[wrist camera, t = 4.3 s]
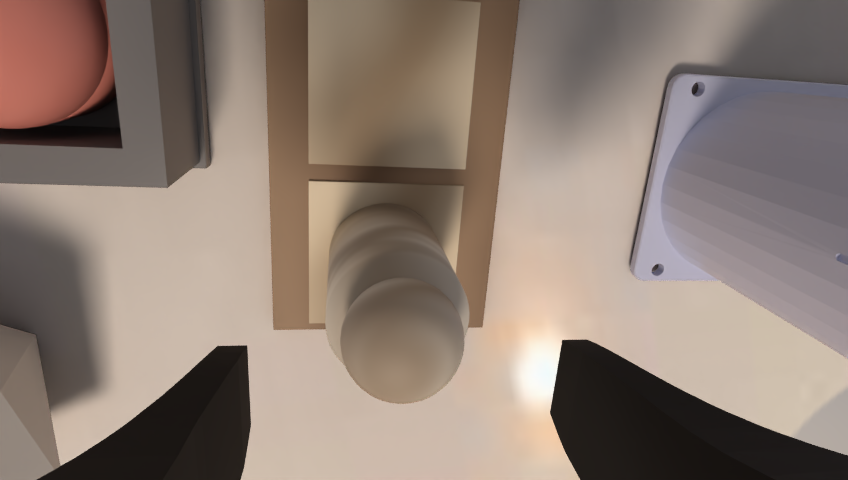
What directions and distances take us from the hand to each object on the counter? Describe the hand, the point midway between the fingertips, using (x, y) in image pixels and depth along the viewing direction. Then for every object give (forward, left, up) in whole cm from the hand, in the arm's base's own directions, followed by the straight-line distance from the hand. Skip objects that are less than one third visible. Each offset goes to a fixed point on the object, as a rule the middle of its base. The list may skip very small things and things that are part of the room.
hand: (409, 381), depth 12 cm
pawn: (0, 0, -8) cm, 8 cm away
